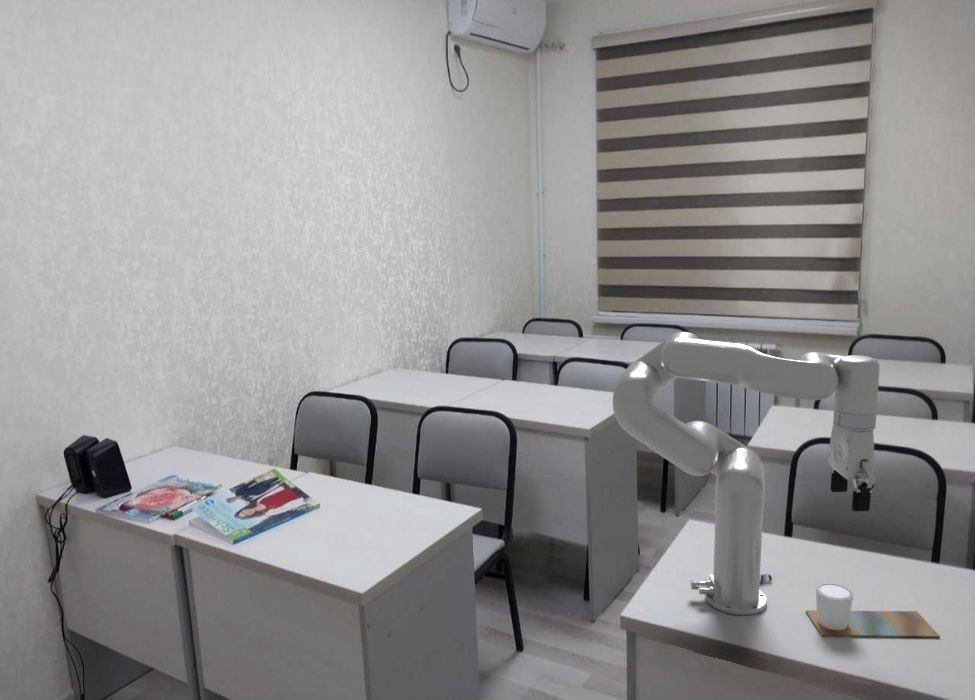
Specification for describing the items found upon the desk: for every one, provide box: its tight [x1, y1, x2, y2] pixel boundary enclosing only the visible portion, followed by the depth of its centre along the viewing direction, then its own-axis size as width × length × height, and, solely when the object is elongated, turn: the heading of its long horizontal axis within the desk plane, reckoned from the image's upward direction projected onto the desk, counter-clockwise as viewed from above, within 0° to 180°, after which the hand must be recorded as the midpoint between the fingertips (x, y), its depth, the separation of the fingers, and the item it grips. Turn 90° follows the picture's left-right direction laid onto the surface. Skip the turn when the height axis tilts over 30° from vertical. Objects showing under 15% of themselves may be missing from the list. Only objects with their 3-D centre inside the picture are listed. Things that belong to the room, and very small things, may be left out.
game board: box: [805, 609, 941, 639], centre depth 152 cm, size 22×9×1 cm, turn 86°
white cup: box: [815, 582, 854, 630], centre depth 152 cm, size 7×7×7 cm
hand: (849, 500), depth 151 cm, fingers open, 9 cm apart
